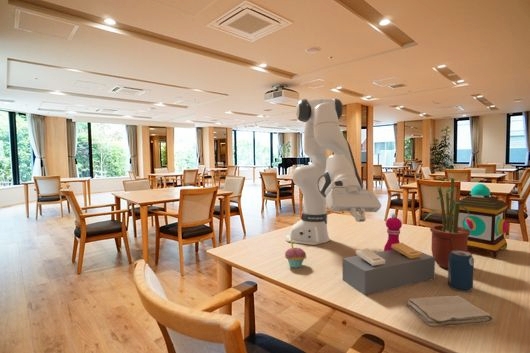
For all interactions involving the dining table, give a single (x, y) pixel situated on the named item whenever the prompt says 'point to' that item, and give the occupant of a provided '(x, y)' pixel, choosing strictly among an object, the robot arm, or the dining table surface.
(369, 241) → the dining table surface
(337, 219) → the dining table surface
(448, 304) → the washcloth
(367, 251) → the cream rocker
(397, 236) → the pepper mill
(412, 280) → the grey rectangular block
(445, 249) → the potted plant
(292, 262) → the cupcake
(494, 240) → the decorative lantern
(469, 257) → the soda can
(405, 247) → the bar
